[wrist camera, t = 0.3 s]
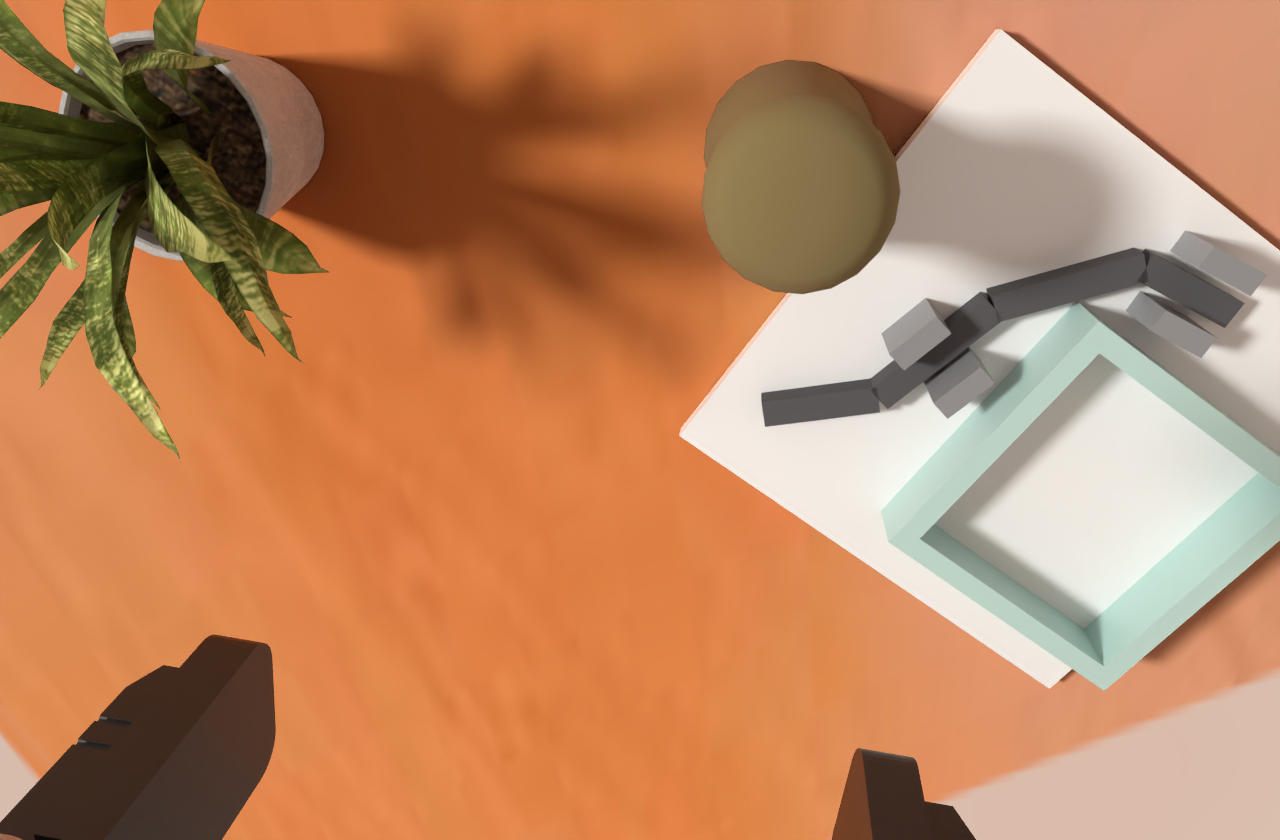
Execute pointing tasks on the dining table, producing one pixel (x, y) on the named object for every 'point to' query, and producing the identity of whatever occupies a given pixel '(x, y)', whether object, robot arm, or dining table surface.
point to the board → (1017, 356)
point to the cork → (797, 179)
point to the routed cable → (987, 314)
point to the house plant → (153, 178)
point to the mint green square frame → (1159, 598)
